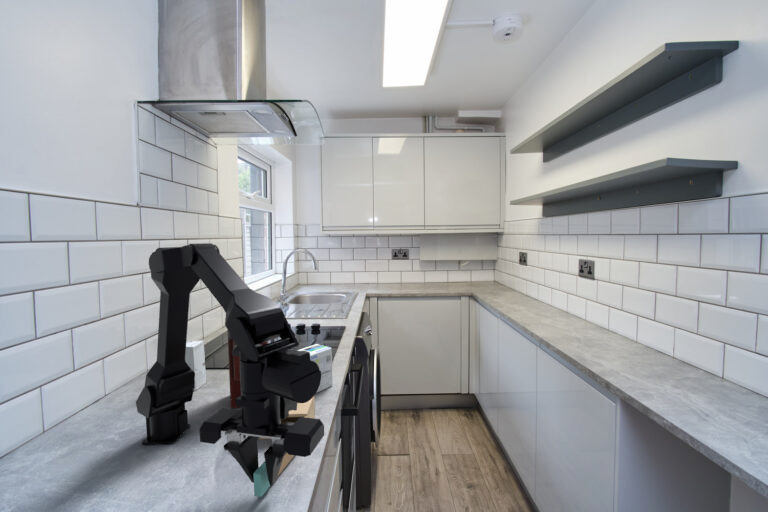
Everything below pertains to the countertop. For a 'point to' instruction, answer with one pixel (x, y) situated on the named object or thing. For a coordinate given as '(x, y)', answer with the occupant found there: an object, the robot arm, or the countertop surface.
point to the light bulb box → (322, 363)
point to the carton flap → (262, 479)
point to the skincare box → (196, 361)
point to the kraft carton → (300, 412)
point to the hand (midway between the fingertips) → (263, 482)
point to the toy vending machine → (234, 371)
